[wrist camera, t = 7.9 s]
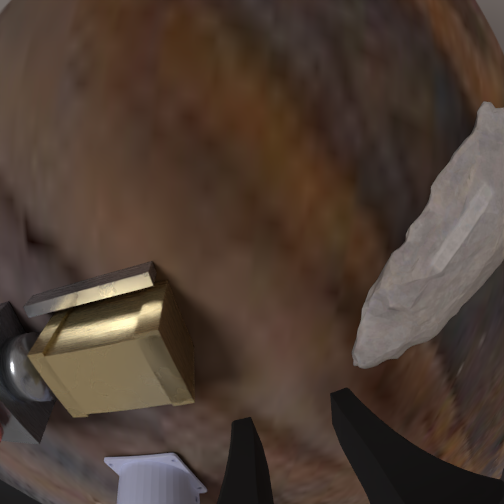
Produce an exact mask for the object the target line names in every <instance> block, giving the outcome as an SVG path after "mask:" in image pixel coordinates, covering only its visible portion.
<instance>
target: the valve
mask: <svg viewBox="0 0 504 504" xmlns="http://www.w3.org/2000/svg"><path fill="white" fill-rule="evenodd" d="M156 275H157V273H156V270H155V268H154V265H153V262H152V261H151V262H147V263H144V264H140V265H137V266H133V267H130V268H126V269H122V270H119V271H115V272H112V273H108V274H105V275H101V276H98V277H94V278H91V279H87V280H84V281H81V282H77V283H74V284H70V285H67V286H63V287H60V288H57V289H53V290H50V291H46V292H43V293H40V294H36V295H33V296H32V297H31V298H30V299H29V301H28V302H27V303H26V304H25V305H24V306H23V308H24V310H25V312H26V313H27V315H28V317H29V318H30V317H34V316H38V315H42V314H46V313H50V312H54V311H58V310H61V309H65V308H69V307H73V306H77V305H81V304H85V303H89V302H93V301H97V300H100V299H104V298H108V297H112V296H116V295H120V294H124V293H127V292H131V291H135V290H139V289H143V288H147V287H150V286H153V285H154V281H155V278H156ZM39 335H40V333H38V332H31V333H26V332H25V330H24V329H23V327H22V325H21V323H20V322H19V320H18V318H17V316H16V314H15V312H14V310H13V309H12V307H11V305H10V303H9V301H8V302H5V303H2V304H0V442H1V440H2V441H10V442H20V443H32V444H40V442H41V439H42V436H43V433H44V431H45V428H46V425H47V422H48V420H49V417H50V414H51V412H52V409H53V406H54V404H55V401H56V399H57V397H56V396H55V394H54V393H53V392H52V390H51V389H50V388H49V386H48V385H47V384H46V382H45V381H44V379H43V378H42V377H41V375H40V374H39V372H38V371H37V369H36V368H35V367H34V365H33V364H32V362H31V361H30V359H29V358H28V356H27V355H28V353H29V351H30V350H31V348H32V347H33V345H34V343H35V342H36V340H37V339H38V337H39Z"/></svg>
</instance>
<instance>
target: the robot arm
mask: <svg viewBox="0 0 504 504" xmlns="http://www.w3.org/2000/svg"><path fill="white" fill-rule="evenodd" d="M330 396H331V409H332V424H333V426H334V429H335V432H336V434H337V437H338V440H339V442H340V445H341V447H342V449H343V451H344V453H345V455H346V456H347V458H348V460H349V462H350V464H351V466H352V468H353V469H354V471H355V473H356V475H357V477H358V479H359V481H360V482H361V484H362V486H363V488H364V490H365V492H366V494H367V496H368V499H369V501H370V504H504V482H503V481H502V480H500V479H495V478H491V477H487V476H483V475H479V474H476V473H473V472H470V471H467V470H464V469H462V468H459V467H457V466H454V465H452V464H450V463H447V462H445V461H443V460H441V459H439V458H437V457H435V456H433V455H431V454H429V453H427V452H426V451H424V450H422V449H420V448H419V447H417V446H416V445H414V444H412V443H411V442H409V441H408V440H406V439H405V438H404V437H402V436H401V435H399V434H398V433H397V432H395V431H394V430H393V429H391V428H390V427H389V426H388V425H387V424H385V423H384V422H383V421H382V420H380V419H379V418H378V417H377V416H376V415H375V414H374V413H372V412H371V411H370V410H369V409H368V408H367V407H366V406H365V405H364V404H363V403H362V402H361V401H360V400H359V399H358V398H357V397H356V396H355V395H354V394H353V393H352V391H351V390H350V389H348V388H344V389H341V390H339V391H336V392H333V393H330ZM104 462H105V463H106V464H107V465H108V466H109V467H110V468H112V469H113V470H114V471H115V472H116V473H117V474H118V475H119V485H118V495H117V504H200V497H199V493H205V492H207V488H206V487H205V486H204V485H203V484H202V483H201V482H200V481H199V480H198V478H197V477H196V476H195V475H194V474H193V473H192V472H191V471H190V469H189V468H188V467H187V466H186V465H185V464H184V463H183V461H182V460H181V459H180V458H179V457H178V455H177V454H175V453H164V454H154V455H141V456H125V457H105V458H104ZM217 504H274V502H273V496H272V489H271V482H270V476H269V469H268V465H267V461H266V457H265V453H264V449H263V446H262V443H261V441H260V438H259V436H258V433H257V431H256V429H255V426H254V424H253V421H252V419H251V417H248V418H244V419H239V420H235V421H233V422H232V429H231V442H230V449H229V456H228V461H227V466H226V471H225V476H224V480H223V484H222V487H221V491H220V495H219V498H218V501H217Z"/></svg>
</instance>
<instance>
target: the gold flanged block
mask: <svg viewBox="0 0 504 504" xmlns="http://www.w3.org/2000/svg"><path fill="white" fill-rule="evenodd" d="M27 356H28V358H29V359H30V361H31V362H32V364H33V365H34V367H35V368H36V369H37V371H38V372H39V374H40V375H41V377H42V378H43V379H44V381H45V382H46V384H47V385H48V386H49V388H50V389H51V390H52V392H53V393H54V394H55V396H56V397H57V398H58V399H59V401H60V402H61V403H62V405H63V406H64V407H65V408H66V409H67V411H68V412H69V413H70V414H71V415H72V417H73V418H74V417H88V416H89V414H92V413H104V412H114V411H123V410H131V409H139V408H146V407H153V406H159V405H166V404H173V406H178V405H184V404H189V403H195V390H194V345H193V342H192V340H191V338H190V335H189V333H188V330H187V328H186V326H185V323H184V321H183V318H182V316H181V313H180V311H179V308H178V306H177V303H176V300H175V298H174V295H173V293H172V290H171V287H170V285H169V282H168V280H164V281H161V282H157V283H154V285H153V286H150V287H148V288H147V289H146V290H142V291H138V292H134V293H130V294H127V295H123V296H119V297H115V298H111V299H107V300H103V301H99V302H95V303H92V304H88V305H84V306H80V307H76V308H73V307H69V308H65V309H61V310H58V311H55V313H54V314H53V316H52V317H51V319H50V320H49V322H48V323H47V325H46V326H45V328H44V329H43V331H42V332H41V334H40V335H39V337H38V339H37V340H36V342H35V343H34V345H33V347H32V348H31V350H30V351H29V353H28V355H27Z"/></svg>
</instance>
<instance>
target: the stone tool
mask: <svg viewBox="0 0 504 504" xmlns="http://www.w3.org/2000/svg"><path fill="white" fill-rule="evenodd" d="M503 259H504V108H495V107H494V106H493V105H492V103H491V102H483V103H482V105H481V106H480V108H479V110H478V111H477V117H476V121H475V125H474V128H473V130H472V133H471V135H470V136H468V137H467V138H466V139H465V140H464V141H463V143H462V144H461V145H460V147H459V148H458V149H457V150H456V151H455V152H454V153H453V155H452V157H451V160H450V162H449V163H448V164H447V166H446V167H445V168H444V169H443V170H442V171H441V172H440V174H439V175H438V176H437V178H436V180H435V181H434V183H433V185H432V186H431V194H430V197H429V201H428V203H427V205H426V207H425V208H424V210H423V212H422V214H421V215H420V216H419V217H418V218H417V219H416V220H415V221H414V222H413V223H412V225H411V226H410V227H409V229H408V231H407V233H406V239H405V242H404V243H403V244H402V246H401V247H400V248H398V249H397V250H395V251H394V252H393V253H392V254H391V257H390V258H389V260H388V261H387V263H386V265H385V266H384V268H383V270H382V272H381V273H380V275H379V277H378V279H377V281H376V282H375V283H374V285H373V286H372V287H371V288H370V290H369V292H368V295H367V298H366V301H365V303H364V305H363V308H362V317H361V322H360V325H359V328H358V332H357V338H356V341H355V344H354V347H353V350H352V356H353V360H354V362H353V365H354V366H359V367H360V368H364V369H366V368H370V367H374V366H377V365H378V364H380V363H382V362H383V361H385V360H387V359H398V358H399V357H400V356H401V355H402V354H403V353H404V352H405V350H407V349H408V348H409V347H411V346H413V345H416V344H419V343H423V342H427V341H429V340H430V339H432V338H433V337H435V336H436V335H437V334H438V333H439V332H440V331H441V329H442V328H443V327H444V326H445V325H446V323H447V322H448V321H449V319H450V318H451V317H453V316H454V315H456V314H457V313H458V311H459V309H460V308H461V306H462V305H463V304H464V303H466V302H467V301H468V300H469V299H470V298H471V297H472V296H473V295H474V293H475V292H476V291H477V290H478V289H479V288H480V287H481V286H482V285H483V284H484V283H485V282H486V280H487V279H488V278H489V277H490V276H491V275H492V273H493V272H494V271H495V269H496V268H497V267H498V266H499V265H500V264H501V262H502V261H503Z"/></svg>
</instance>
